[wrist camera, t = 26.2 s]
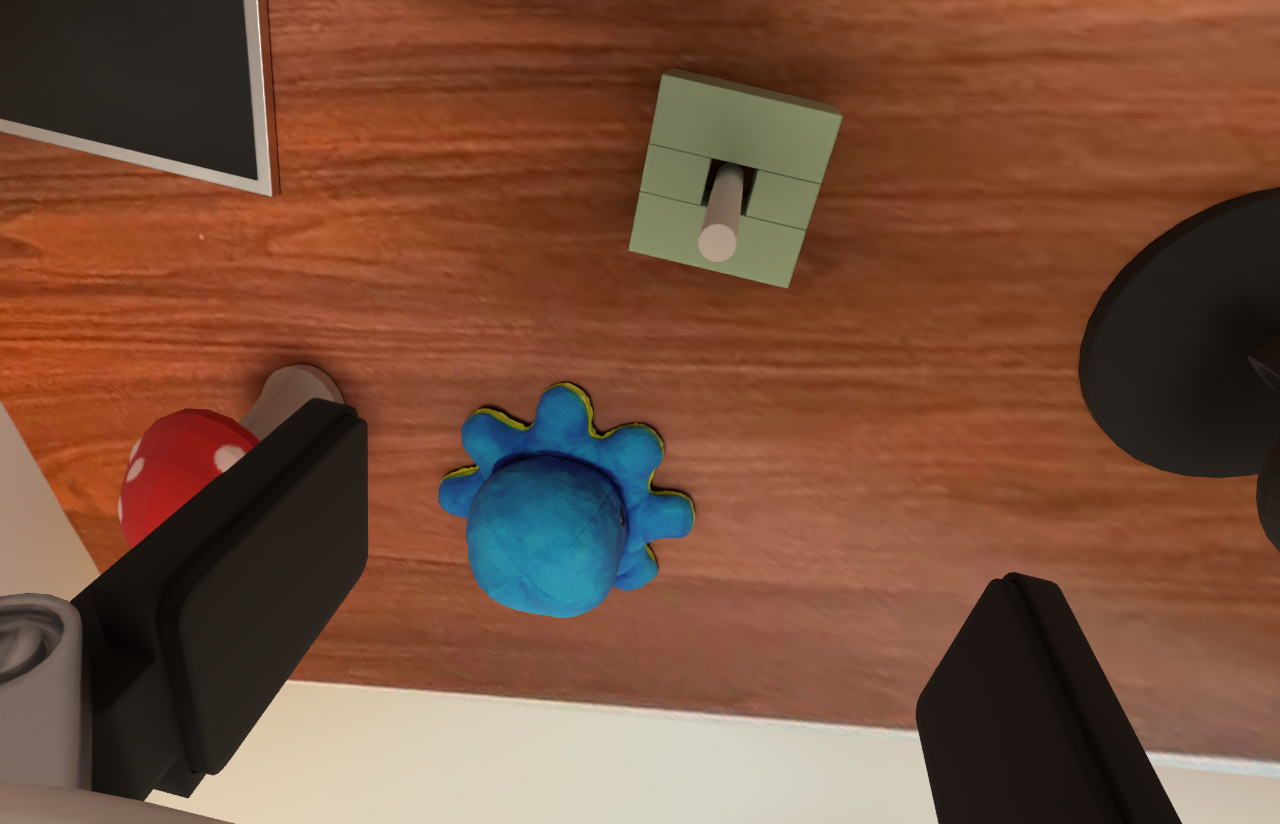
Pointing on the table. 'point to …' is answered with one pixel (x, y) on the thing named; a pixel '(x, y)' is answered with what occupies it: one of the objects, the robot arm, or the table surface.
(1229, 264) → the microphone
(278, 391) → the decorative mushroom
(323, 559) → the robot arm
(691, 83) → the pen stand
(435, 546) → the table surface
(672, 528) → the plush toy
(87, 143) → the tablet
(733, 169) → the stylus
